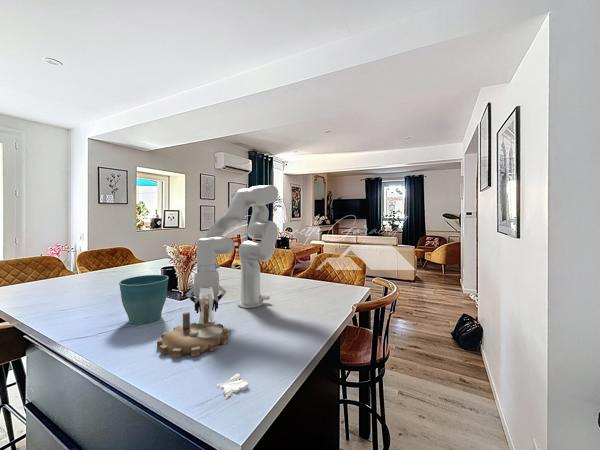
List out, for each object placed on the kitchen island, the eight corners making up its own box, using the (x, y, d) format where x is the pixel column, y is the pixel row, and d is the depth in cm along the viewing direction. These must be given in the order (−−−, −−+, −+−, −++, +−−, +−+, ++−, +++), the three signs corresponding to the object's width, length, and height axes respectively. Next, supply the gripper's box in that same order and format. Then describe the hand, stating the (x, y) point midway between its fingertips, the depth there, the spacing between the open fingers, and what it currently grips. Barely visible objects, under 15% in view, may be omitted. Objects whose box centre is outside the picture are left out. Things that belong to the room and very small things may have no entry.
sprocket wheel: (196, 323, 110) (196, 304, 109) (241, 334, 100) (241, 313, 99) (141, 347, 89) (141, 324, 89) (191, 364, 79) (191, 338, 79)
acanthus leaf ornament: (238, 377, 75) (238, 370, 75) (252, 389, 70) (252, 382, 69) (212, 388, 69) (212, 381, 69) (225, 402, 64) (225, 394, 64)
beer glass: (218, 319, 114) (218, 284, 114) (208, 326, 108) (208, 288, 107) (205, 317, 117) (205, 283, 116) (193, 323, 110) (193, 287, 110)
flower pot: (133, 331, 102) (133, 287, 101) (110, 321, 112) (110, 280, 111) (177, 317, 117) (177, 278, 117) (154, 309, 127) (153, 273, 126)
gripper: (228, 265, 118) (228, 306, 118) (184, 267, 113) (185, 310, 113) (228, 268, 110) (228, 312, 111) (182, 271, 105) (182, 316, 106)
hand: (206, 311), depth 112 cm, fingers closed on beer glass, 6 cm apart
